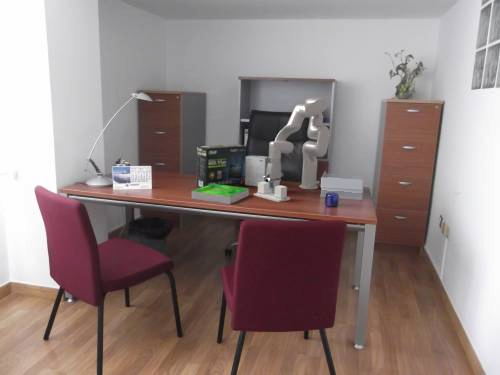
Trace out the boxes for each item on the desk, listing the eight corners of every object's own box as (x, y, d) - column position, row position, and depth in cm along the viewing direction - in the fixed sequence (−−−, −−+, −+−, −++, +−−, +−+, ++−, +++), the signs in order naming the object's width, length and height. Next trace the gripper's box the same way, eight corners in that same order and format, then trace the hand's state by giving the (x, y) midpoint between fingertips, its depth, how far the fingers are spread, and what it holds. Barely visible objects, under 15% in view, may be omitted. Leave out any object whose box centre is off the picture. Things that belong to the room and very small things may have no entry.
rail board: (264, 193, 259) (265, 180, 257) (290, 199, 244) (290, 186, 242) (253, 195, 252) (254, 182, 250) (278, 202, 237) (279, 188, 235)
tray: (191, 199, 239) (191, 191, 238) (212, 191, 261) (212, 183, 260) (229, 205, 229) (230, 196, 228) (248, 196, 251) (248, 188, 250)
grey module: (272, 190, 267) (272, 178, 265) (279, 192, 263) (279, 180, 261) (266, 191, 263) (267, 179, 262) (273, 193, 259) (274, 181, 257)
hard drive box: (269, 185, 282) (270, 157, 278) (264, 187, 275) (265, 158, 271) (249, 183, 289) (250, 155, 285) (244, 184, 282) (245, 156, 278)
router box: (205, 189, 263) (206, 148, 258) (195, 186, 271) (195, 146, 266) (246, 183, 288) (247, 145, 282) (235, 180, 296) (236, 143, 290)
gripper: (279, 159, 267) (277, 185, 271) (260, 161, 256) (259, 188, 259) (288, 161, 262) (286, 187, 266) (269, 163, 250) (267, 190, 254)
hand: (273, 187), depth 262 cm, fingers open, 9 cm apart
